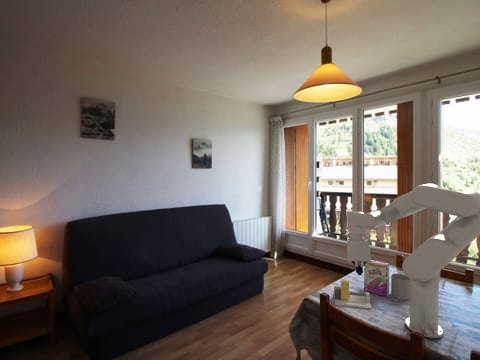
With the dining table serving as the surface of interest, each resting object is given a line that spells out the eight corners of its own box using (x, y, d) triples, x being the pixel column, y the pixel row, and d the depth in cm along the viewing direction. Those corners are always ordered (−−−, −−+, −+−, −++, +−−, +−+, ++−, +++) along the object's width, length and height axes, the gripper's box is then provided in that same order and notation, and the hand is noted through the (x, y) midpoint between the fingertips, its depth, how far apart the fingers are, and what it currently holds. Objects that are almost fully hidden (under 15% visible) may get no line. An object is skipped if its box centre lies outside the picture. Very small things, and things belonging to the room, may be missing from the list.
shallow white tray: (371, 309, 118) (371, 297, 118) (335, 304, 123) (335, 293, 123) (366, 297, 129) (366, 286, 129) (333, 294, 133) (333, 283, 133)
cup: (413, 300, 125) (413, 280, 125) (395, 299, 127) (395, 279, 127) (405, 292, 134) (405, 274, 133) (388, 291, 135) (388, 273, 135)
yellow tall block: (349, 299, 124) (349, 282, 124) (341, 298, 125) (341, 281, 125) (348, 295, 128) (348, 279, 128) (340, 294, 129) (340, 278, 129)
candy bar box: (363, 290, 136) (363, 260, 136) (366, 287, 140) (366, 258, 140) (387, 297, 129) (387, 265, 128) (389, 294, 132) (389, 263, 132)
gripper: (341, 238, 122) (344, 276, 122) (376, 238, 118) (378, 278, 118) (340, 235, 130) (342, 271, 129) (372, 235, 125) (374, 272, 125)
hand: (359, 274), depth 124 cm, fingers closed
